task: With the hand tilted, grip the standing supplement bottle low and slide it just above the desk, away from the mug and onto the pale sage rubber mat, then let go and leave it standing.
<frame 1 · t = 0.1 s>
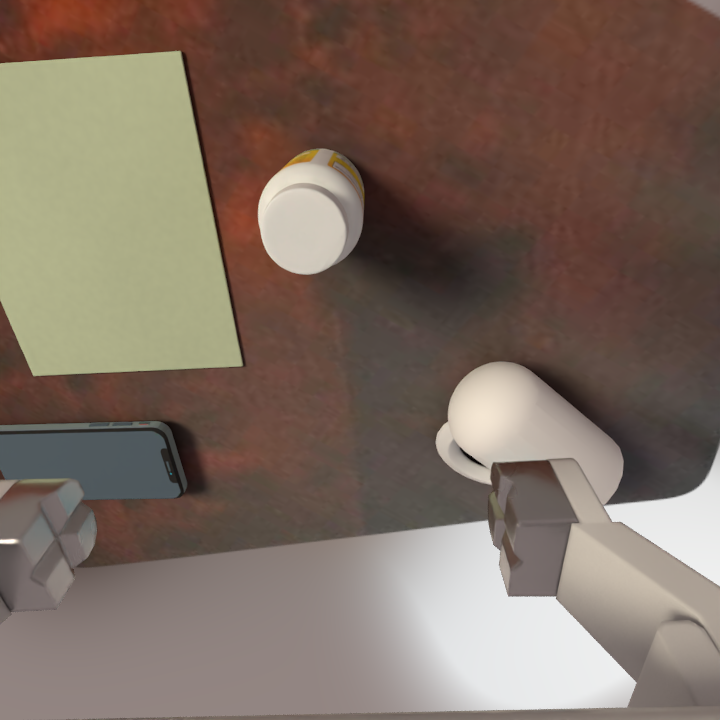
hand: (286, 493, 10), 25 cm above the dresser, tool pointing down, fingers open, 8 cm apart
smartphone: (95, 454, 42), on the dresser
mat: (96, 238, 33), on the dresser
mug: (493, 418, 40), on the dresser
supplement bottle: (321, 192, 31), on the dresser
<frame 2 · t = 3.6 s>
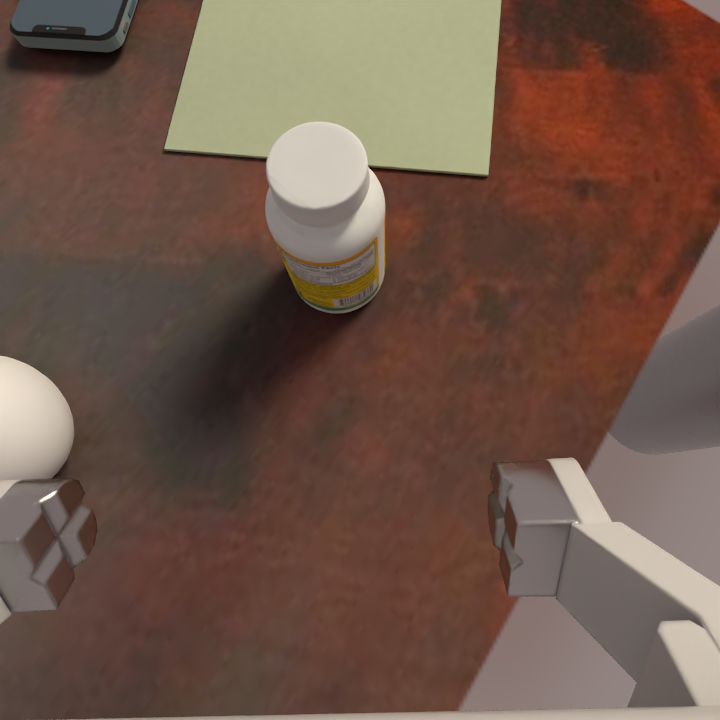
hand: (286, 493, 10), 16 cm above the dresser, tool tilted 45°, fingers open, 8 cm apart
mat: (340, 57, 32), on the dresser
supplement bottle: (338, 273, 29), on the dresser
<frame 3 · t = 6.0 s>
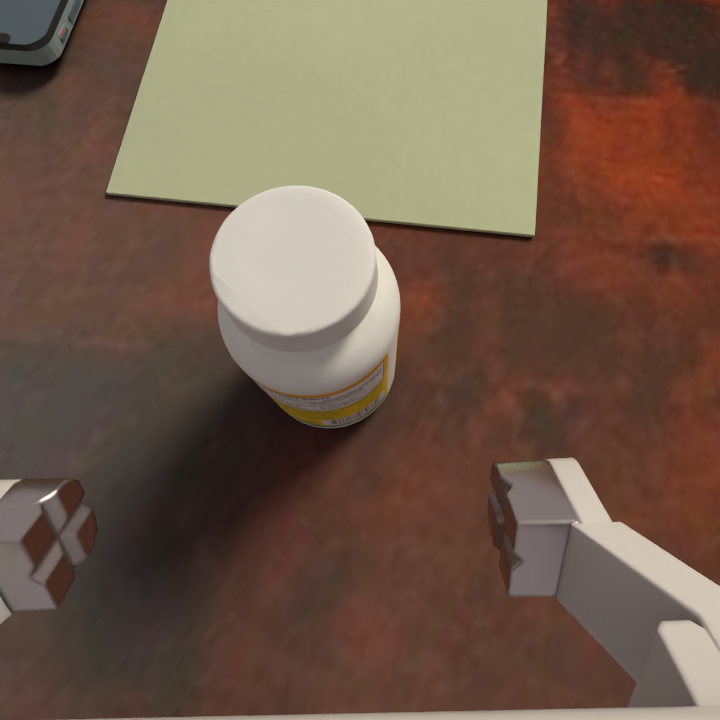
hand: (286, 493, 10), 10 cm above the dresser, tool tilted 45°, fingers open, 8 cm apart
mat: (339, 76, 25), on the dresser
supplement bottle: (332, 367, 21), on the dresser
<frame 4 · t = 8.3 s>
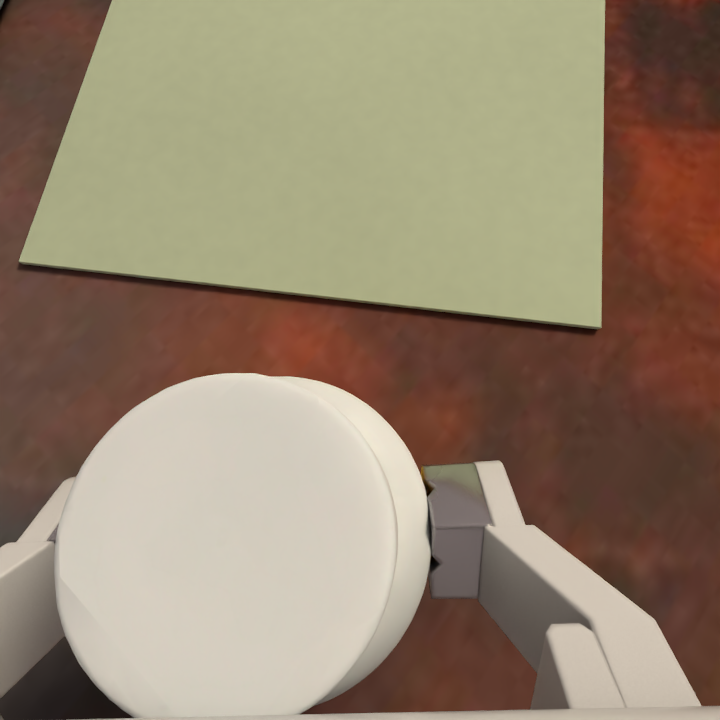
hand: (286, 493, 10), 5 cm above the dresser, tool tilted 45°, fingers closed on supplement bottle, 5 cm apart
mat: (332, 103, 19), on the dresser
supplement bottle: (322, 518, 15), on the dresser, touching gripper
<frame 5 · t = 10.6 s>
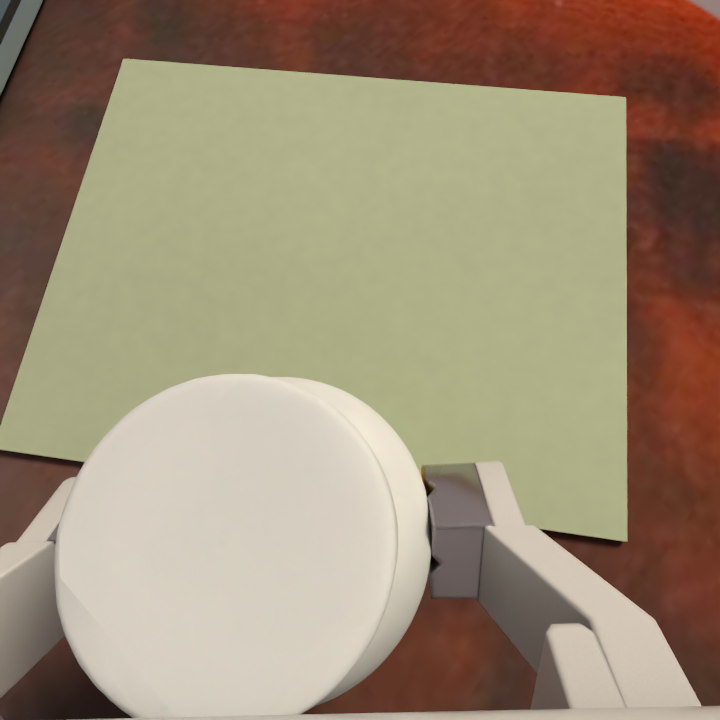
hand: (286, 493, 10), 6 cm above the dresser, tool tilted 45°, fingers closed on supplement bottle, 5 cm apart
mat: (333, 262, 18), on the dresser
supplement bottle: (322, 518, 15), on the dresser, touching gripper
when the fingers open (6 cm above the dresser, at t = 13.4 s): supplement bottle stays where it is, resting on mat.
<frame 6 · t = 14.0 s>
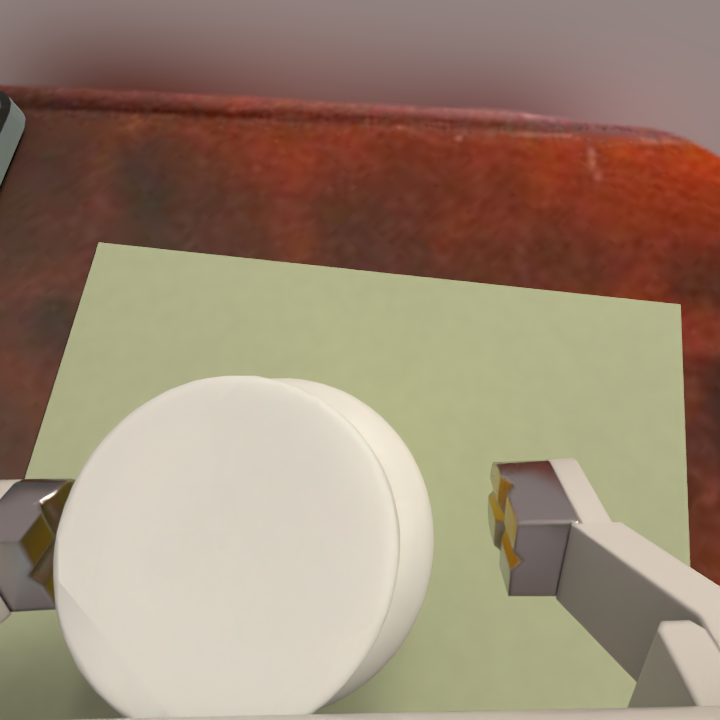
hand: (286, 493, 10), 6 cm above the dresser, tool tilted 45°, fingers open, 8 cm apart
mat: (341, 514, 15), on the dresser
supplement bottle: (323, 519, 15), resting on mat
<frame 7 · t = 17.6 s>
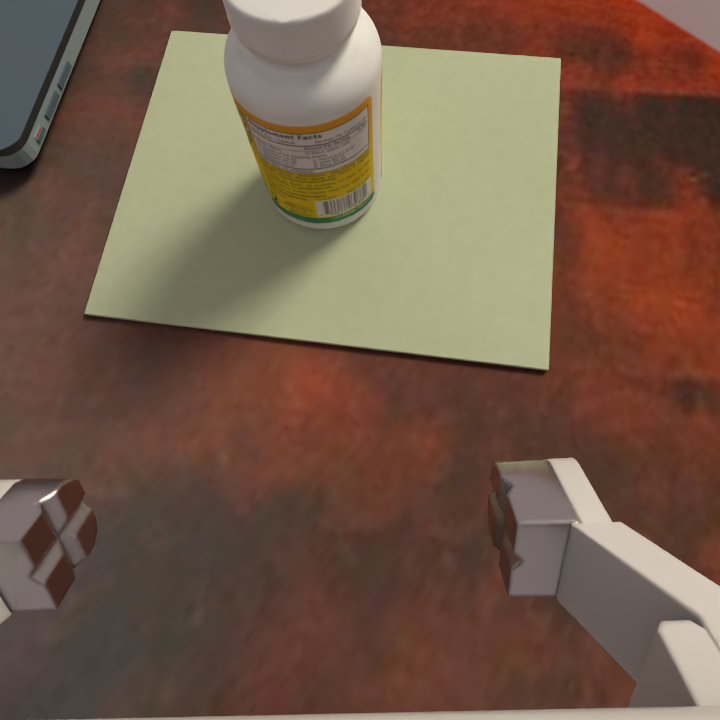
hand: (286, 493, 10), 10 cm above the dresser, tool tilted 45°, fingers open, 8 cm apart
smartphone: (22, 56, 27), on the dresser
mat: (336, 181, 23), on the dresser
supplement bottle: (325, 184, 23), resting on mat
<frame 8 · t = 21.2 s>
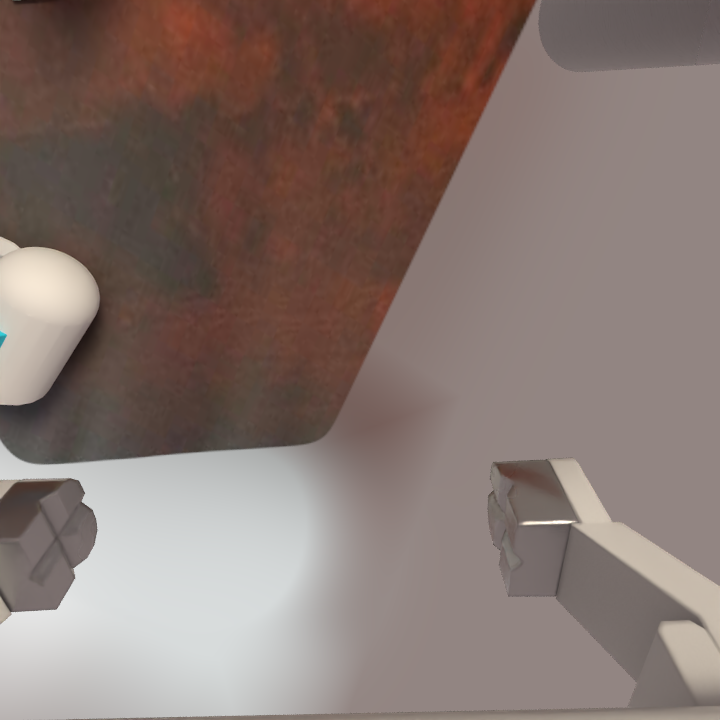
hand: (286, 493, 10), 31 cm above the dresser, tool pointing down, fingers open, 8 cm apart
mug: (35, 287, 41), on the dresser
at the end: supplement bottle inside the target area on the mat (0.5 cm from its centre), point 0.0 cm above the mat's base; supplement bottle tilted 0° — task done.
